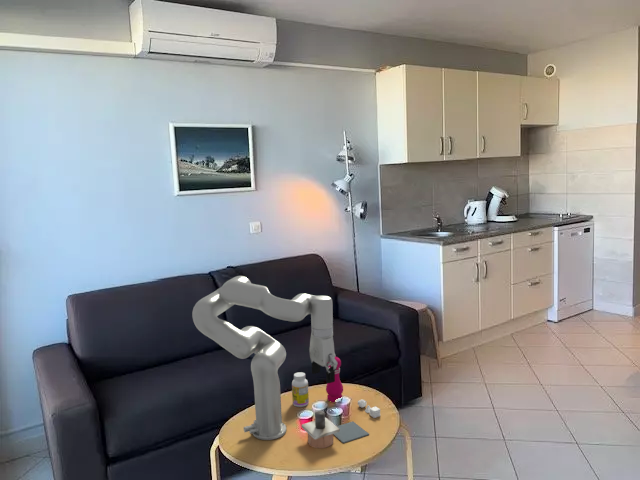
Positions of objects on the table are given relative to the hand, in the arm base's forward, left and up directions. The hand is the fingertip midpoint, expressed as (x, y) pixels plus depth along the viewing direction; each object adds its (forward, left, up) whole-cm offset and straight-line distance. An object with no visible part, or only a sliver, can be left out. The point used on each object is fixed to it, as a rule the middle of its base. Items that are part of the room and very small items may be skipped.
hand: (323, 377), depth 188 cm
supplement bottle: (+4, +28, -23) cm, 37 cm away
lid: (-3, -2, -18) cm, 19 cm away
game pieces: (+24, +8, -23) cm, 35 cm away
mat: (+9, -2, -23) cm, 25 cm away
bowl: (-3, -2, -23) cm, 23 cm away
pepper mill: (+18, +24, -23) cm, 38 cm away
